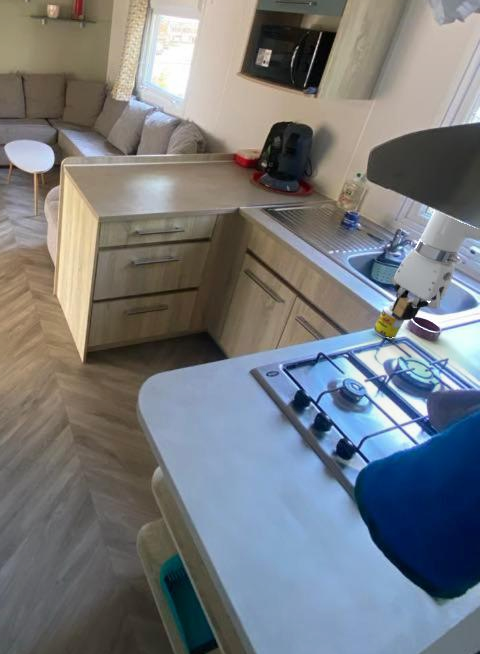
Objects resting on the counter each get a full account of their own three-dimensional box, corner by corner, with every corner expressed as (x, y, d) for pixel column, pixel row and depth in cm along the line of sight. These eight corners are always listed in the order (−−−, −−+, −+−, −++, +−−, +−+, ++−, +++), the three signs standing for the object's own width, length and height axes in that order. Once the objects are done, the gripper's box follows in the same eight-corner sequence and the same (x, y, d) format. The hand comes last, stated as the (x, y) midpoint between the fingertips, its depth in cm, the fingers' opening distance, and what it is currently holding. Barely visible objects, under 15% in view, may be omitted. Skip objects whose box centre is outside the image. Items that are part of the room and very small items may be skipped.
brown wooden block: (402, 314, 109) (411, 296, 107) (410, 319, 108) (419, 302, 105) (390, 315, 108) (400, 297, 106) (398, 320, 106) (407, 302, 104)
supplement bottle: (368, 327, 127) (383, 298, 123) (386, 329, 127) (401, 301, 123) (380, 339, 122) (395, 310, 118) (398, 341, 122) (414, 312, 118)
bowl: (428, 326, 132) (432, 319, 131) (443, 343, 125) (448, 335, 124) (401, 321, 133) (405, 313, 132) (415, 337, 125) (419, 329, 124)
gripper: (481, 268, 94) (442, 334, 102) (415, 236, 108) (386, 296, 116) (457, 269, 92) (420, 336, 100) (393, 236, 106) (365, 297, 113)
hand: (402, 314), depth 108 cm, fingers closed on brown wooden block, 2 cm apart
